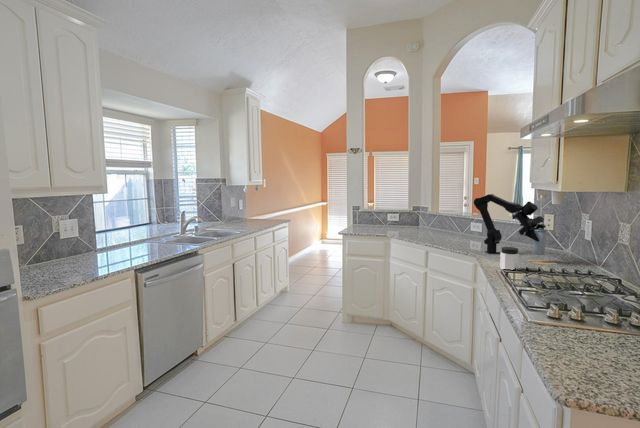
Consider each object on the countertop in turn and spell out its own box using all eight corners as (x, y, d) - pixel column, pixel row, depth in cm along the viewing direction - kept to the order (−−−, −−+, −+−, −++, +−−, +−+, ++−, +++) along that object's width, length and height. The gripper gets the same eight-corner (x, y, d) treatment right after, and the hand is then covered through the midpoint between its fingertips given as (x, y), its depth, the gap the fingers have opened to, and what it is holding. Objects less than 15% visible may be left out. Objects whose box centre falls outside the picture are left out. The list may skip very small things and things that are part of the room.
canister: (530, 252, 212) (532, 227, 210) (540, 252, 212) (542, 227, 210) (536, 255, 206) (538, 229, 203) (547, 255, 206) (549, 229, 204)
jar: (512, 272, 189) (513, 250, 188) (497, 269, 196) (498, 248, 195) (520, 269, 194) (521, 248, 193) (506, 266, 201) (506, 246, 199)
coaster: (525, 260, 213) (525, 259, 213) (544, 260, 214) (544, 259, 214) (538, 265, 201) (538, 264, 201) (558, 265, 202) (558, 264, 202)
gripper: (524, 212, 205) (543, 234, 197) (543, 210, 214) (561, 231, 205) (511, 224, 213) (528, 245, 204) (530, 222, 221) (547, 242, 213)
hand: (541, 240), depth 206 cm, fingers closed on canister, 6 cm apart
